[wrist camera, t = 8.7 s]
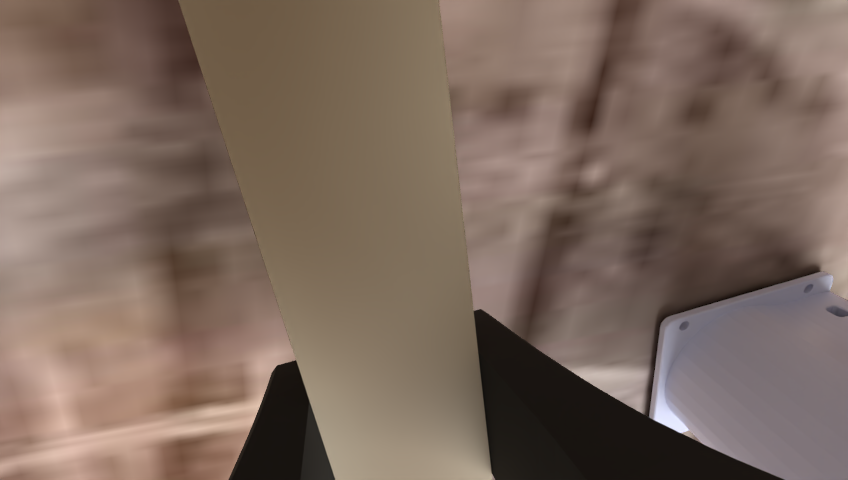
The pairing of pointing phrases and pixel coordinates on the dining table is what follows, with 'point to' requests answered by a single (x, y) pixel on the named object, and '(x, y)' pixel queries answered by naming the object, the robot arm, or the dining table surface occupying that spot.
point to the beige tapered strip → (356, 220)
